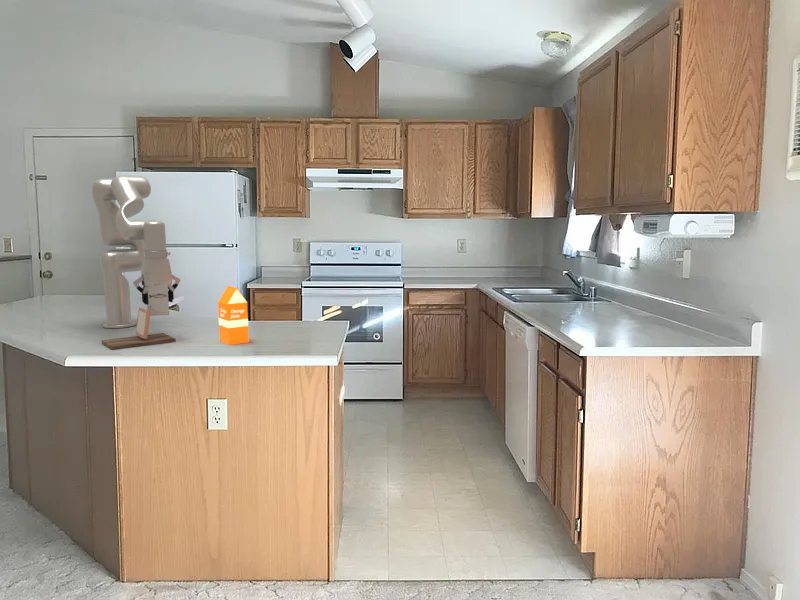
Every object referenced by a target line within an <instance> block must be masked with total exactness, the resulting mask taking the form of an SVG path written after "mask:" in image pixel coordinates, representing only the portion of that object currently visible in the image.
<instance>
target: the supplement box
mask: <svg viewBox="0 0 800 600" xmlns="http://www.w3.org/2000/svg"><path fill="white" fill-rule="evenodd" d="M168 291H169V289H168V282H167V281H162V282H156V283H155V284H154V286H152V287H148V290H147V294H148V305H146V306H147V310H149V311H151V312H150V317H156V316H169V315H170V302H169V301H168Z"/></svg>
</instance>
